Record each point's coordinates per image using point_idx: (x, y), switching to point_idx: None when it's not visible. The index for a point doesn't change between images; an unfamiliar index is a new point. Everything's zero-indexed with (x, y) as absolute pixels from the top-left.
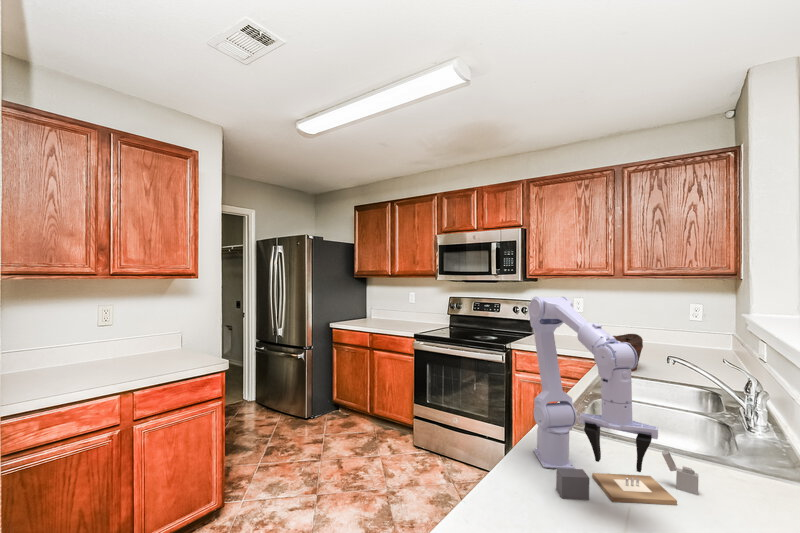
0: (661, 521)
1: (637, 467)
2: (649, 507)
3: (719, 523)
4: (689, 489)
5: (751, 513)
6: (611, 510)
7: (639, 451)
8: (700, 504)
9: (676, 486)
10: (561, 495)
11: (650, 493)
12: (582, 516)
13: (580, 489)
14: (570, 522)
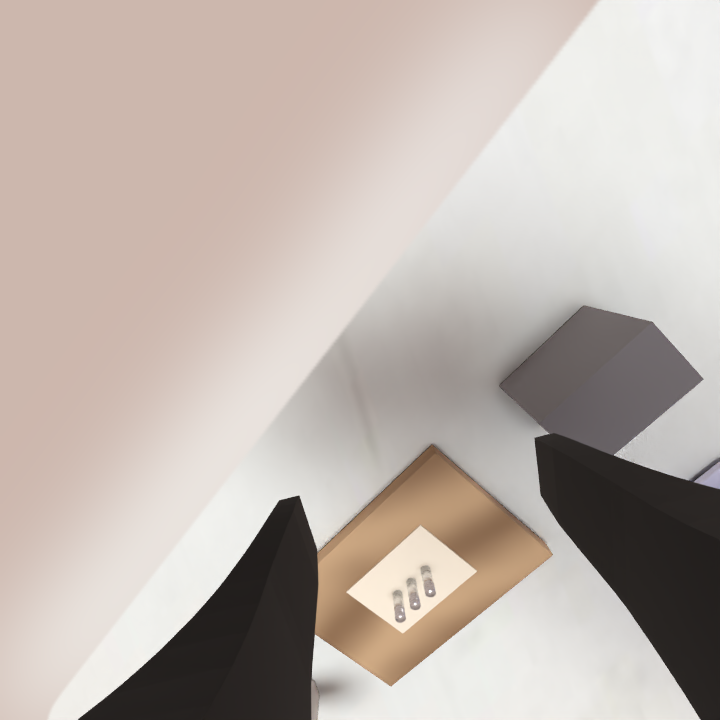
0: (273, 463)
1: (286, 510)
2: (330, 512)
3: (159, 589)
4: None
5: None
6: (413, 388)
7: (228, 617)
8: None
9: (312, 688)
10: (592, 308)
11: (348, 581)
12: (476, 257)
13: (543, 372)
14: (495, 174)
